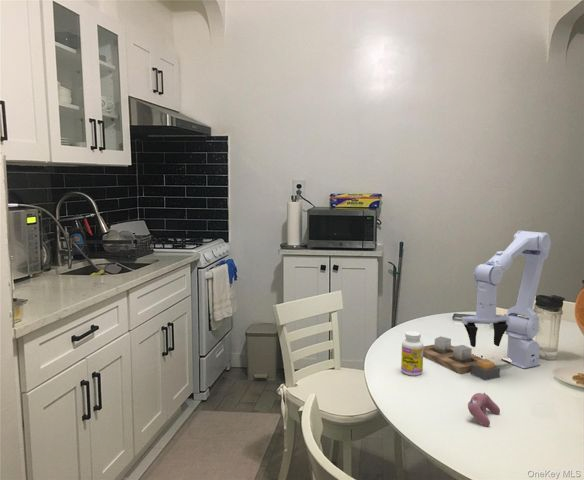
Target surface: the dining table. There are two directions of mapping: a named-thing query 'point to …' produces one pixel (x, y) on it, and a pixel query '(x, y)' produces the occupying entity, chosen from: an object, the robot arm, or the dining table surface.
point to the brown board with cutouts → (449, 359)
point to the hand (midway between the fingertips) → (484, 345)
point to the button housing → (485, 372)
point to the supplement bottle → (412, 354)
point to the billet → (462, 354)
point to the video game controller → (482, 407)
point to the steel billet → (442, 345)
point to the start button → (485, 364)
